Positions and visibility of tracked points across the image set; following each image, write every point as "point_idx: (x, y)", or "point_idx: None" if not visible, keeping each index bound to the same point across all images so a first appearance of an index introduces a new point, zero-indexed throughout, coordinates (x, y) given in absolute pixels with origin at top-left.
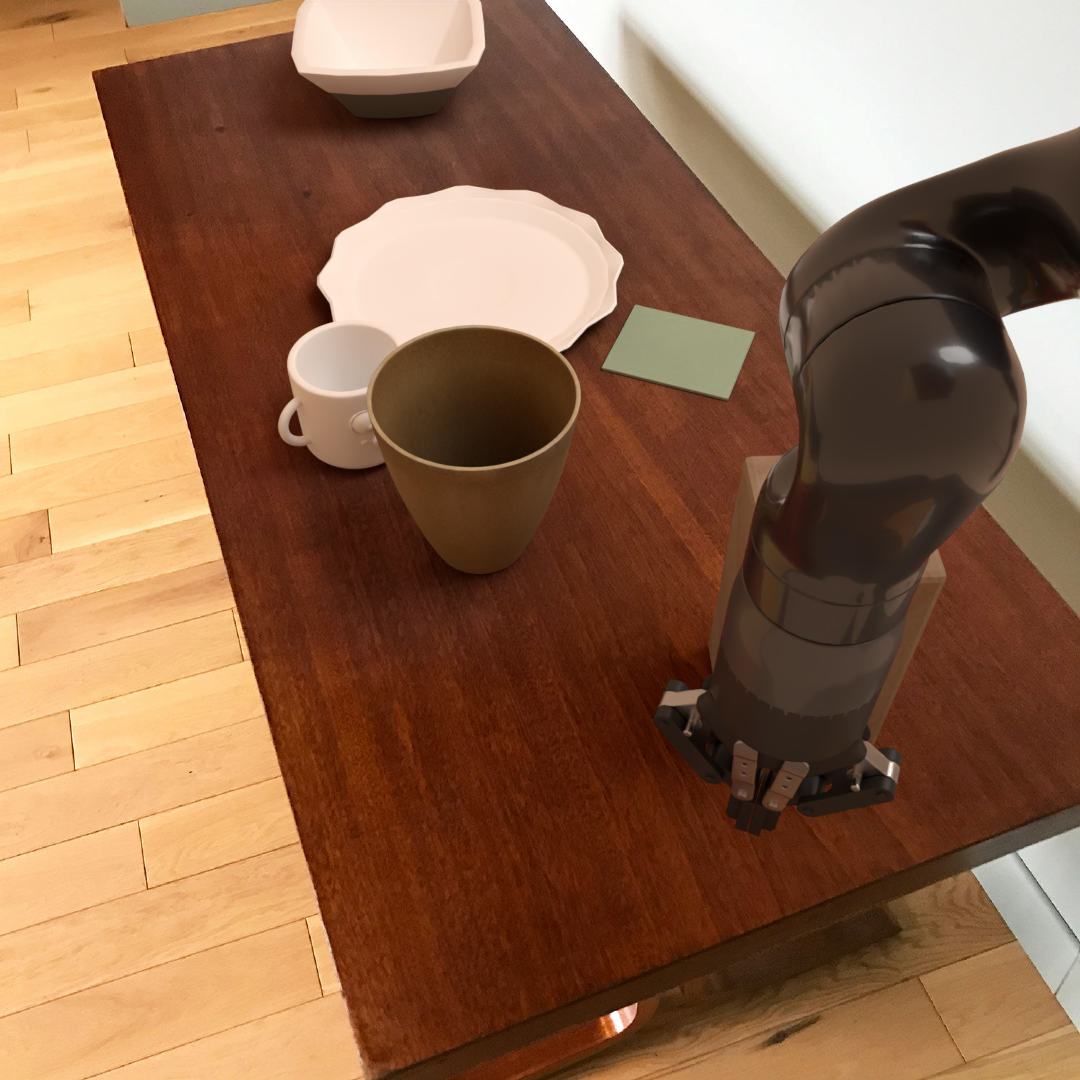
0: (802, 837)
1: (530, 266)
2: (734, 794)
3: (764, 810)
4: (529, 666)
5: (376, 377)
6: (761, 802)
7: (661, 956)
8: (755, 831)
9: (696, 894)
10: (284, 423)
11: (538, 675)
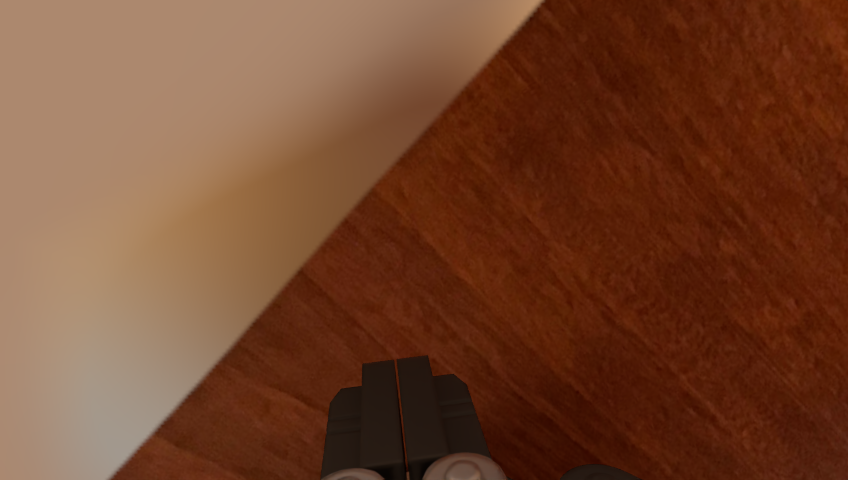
0: (314, 387)
1: None
2: (486, 465)
3: (370, 452)
4: (779, 438)
5: None
6: (389, 476)
7: (441, 115)
8: (375, 371)
9: (428, 232)
10: None
11: (762, 432)
